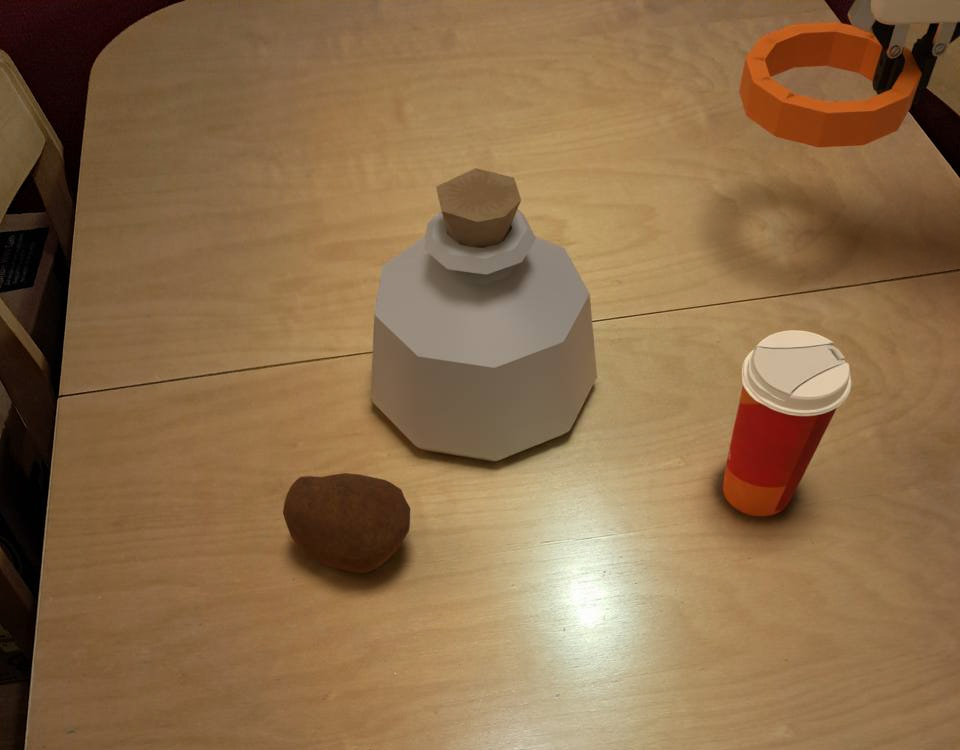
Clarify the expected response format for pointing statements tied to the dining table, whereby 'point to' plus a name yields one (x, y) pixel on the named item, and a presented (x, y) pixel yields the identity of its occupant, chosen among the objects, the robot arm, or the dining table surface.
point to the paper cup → (782, 417)
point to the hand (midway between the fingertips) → (895, 95)
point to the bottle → (481, 329)
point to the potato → (347, 519)
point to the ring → (814, 116)
